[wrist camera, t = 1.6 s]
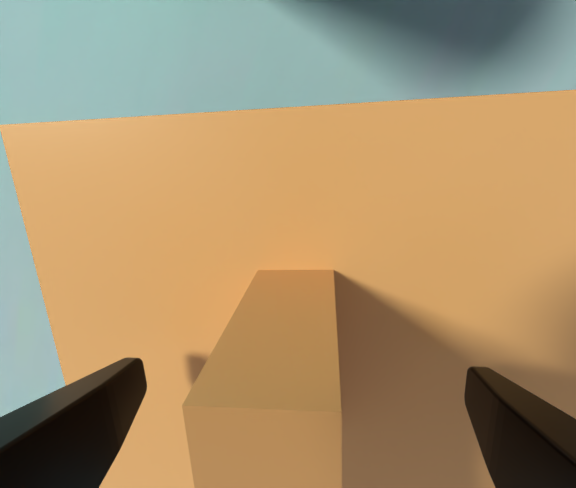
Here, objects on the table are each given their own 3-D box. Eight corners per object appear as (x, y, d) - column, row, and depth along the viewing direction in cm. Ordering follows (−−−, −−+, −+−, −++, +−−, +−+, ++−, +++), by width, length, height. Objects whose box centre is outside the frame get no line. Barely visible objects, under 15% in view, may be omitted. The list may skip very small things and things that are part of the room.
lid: (580, 98, 9) (1326, -46, 2) (514, 483, 12) (734, 874, 6) (57, 129, 11) (-389, 98, 4) (127, 458, 14) (-50, 737, 7)
